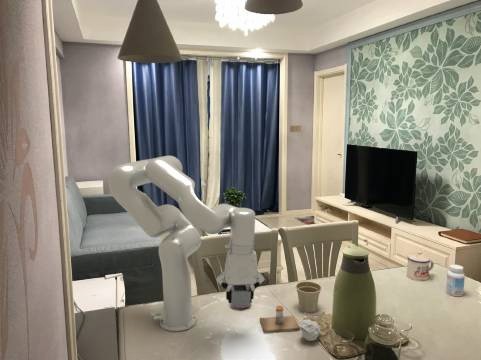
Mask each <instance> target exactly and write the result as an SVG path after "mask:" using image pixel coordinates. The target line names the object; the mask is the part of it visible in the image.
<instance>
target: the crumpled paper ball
mask: <svg viewBox="0 0 481 360" xmlns="http://www.w3.org/2000/svg"><path fill="white" fill-rule="evenodd" d="M299 327H300V332H301V334H302V336H303V337H302V338H304V339H305V340H306V341H308V342H314V341H316V340H317V339H318V336H319V335H320V332H321V328H320V325H319V323H317V322H316V321H313V320H311V319H310V318H308V319H303V320H302V322H301V324H299Z"/></svg>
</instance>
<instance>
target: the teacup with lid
mask: <svg viewBox="0 0 481 360" xmlns="http://www.w3.org/2000/svg"><path fill="white" fill-rule="evenodd" d="M434 266H435V264H434V261H433V260H432V259H431V258H430V257H429V256H428V255H425V254H424V253H422V251H420V250H417V251H416V252H414V253H410V254H408V255H407V266H406V277H407V278H409V279H411V280H414V281H419V282H422V281H427V280H429V274H430V271H432V270H433V268H434Z"/></svg>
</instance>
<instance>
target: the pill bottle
mask: <svg viewBox="0 0 481 360" xmlns="http://www.w3.org/2000/svg"><path fill="white" fill-rule="evenodd" d="M465 276H466V275H465V273H464V266H462V265H459V264H450V265H449V270H448V272H447V273H446V288H445V291H446V293H447V294H448V295H449V296H453V297H462V296H463V295H464V290H465Z"/></svg>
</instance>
